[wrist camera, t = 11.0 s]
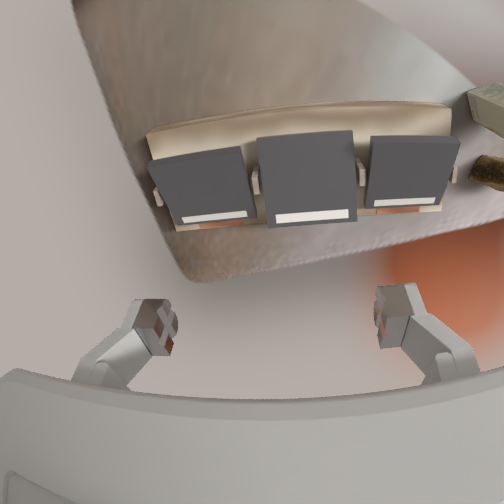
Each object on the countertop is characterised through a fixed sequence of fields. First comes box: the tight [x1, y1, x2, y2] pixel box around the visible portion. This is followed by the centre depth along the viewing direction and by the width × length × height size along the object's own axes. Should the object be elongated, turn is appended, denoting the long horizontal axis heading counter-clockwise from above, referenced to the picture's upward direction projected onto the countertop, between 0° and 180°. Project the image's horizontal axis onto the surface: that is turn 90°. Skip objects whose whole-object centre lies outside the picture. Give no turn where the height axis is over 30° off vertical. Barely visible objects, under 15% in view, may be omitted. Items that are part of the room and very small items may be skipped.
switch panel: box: [146, 101, 458, 231], centre depth 36 cm, size 14×36×6 cm, turn 99°
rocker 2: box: [363, 135, 460, 209], centre depth 31 cm, size 10×10×1 cm
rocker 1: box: [147, 146, 257, 226], centre depth 35 cm, size 10×10×1 cm
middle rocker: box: [256, 130, 357, 228], centre depth 33 cm, size 10×10×1 cm
